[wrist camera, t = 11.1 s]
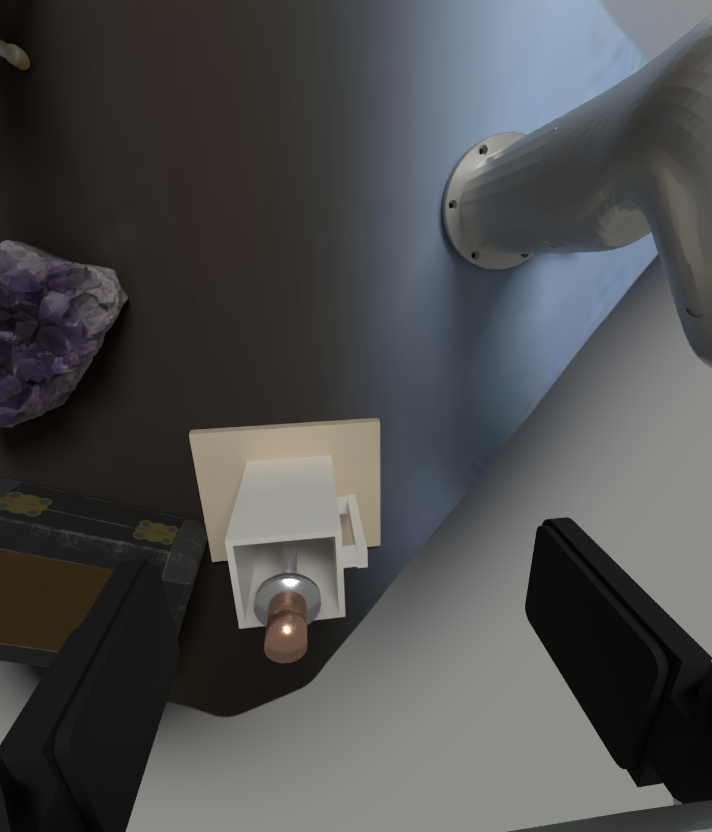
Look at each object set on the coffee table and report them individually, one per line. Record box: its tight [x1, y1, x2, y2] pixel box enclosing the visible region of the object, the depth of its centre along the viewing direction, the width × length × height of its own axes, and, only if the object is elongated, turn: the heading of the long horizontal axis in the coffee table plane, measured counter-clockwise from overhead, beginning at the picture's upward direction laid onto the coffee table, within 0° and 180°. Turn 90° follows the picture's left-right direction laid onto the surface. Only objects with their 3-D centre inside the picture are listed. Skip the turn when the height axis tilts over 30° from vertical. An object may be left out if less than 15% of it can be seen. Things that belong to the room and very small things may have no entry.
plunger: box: [254, 540, 321, 663], centre depth 41 cm, size 8×8×21 cm
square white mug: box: [189, 418, 380, 629], centre depth 45 cm, size 22×18×16 cm
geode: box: [0, 240, 128, 428], centre depth 39 cm, size 20×12×10 cm, turn 146°
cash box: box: [0, 478, 208, 667], centre depth 49 cm, size 25×20×8 cm
